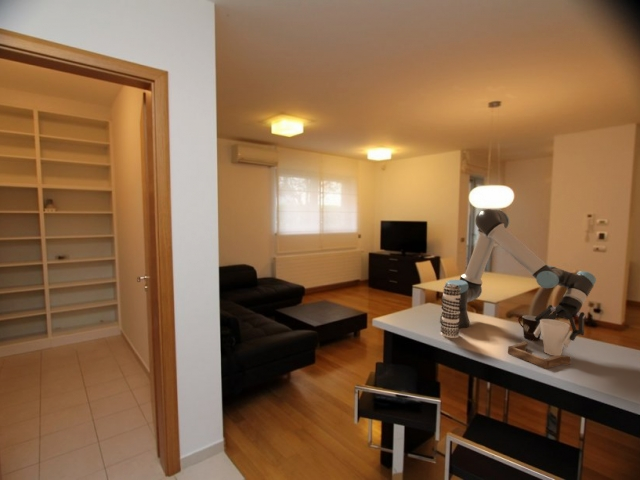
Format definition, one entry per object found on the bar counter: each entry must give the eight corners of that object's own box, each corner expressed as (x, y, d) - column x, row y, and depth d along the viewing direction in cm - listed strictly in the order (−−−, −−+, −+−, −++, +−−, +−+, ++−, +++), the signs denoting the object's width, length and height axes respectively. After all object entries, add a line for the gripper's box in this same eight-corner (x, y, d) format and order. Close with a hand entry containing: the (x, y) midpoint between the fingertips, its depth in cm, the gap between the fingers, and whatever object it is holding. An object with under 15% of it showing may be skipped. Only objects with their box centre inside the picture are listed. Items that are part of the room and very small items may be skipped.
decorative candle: (455, 332, 163) (458, 283, 162) (462, 338, 154) (465, 287, 152) (437, 331, 164) (439, 282, 162) (443, 337, 155) (445, 286, 153)
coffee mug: (545, 342, 152) (547, 321, 151) (525, 340, 153) (526, 320, 153) (534, 334, 163) (535, 314, 162) (515, 332, 165) (517, 313, 164)
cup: (574, 358, 134) (576, 326, 133) (550, 358, 133) (553, 326, 132) (554, 348, 145) (556, 318, 144) (532, 348, 144) (534, 318, 143)
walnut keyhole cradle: (504, 351, 139) (504, 345, 139) (523, 347, 145) (524, 340, 145) (550, 370, 122) (551, 362, 122) (570, 364, 128) (571, 356, 128)
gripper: (607, 313, 134) (584, 355, 128) (547, 300, 155) (525, 336, 149) (602, 302, 131) (578, 344, 125) (541, 290, 152) (518, 326, 147)
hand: (549, 340), depth 137 cm, fingers open, 11 cm apart
